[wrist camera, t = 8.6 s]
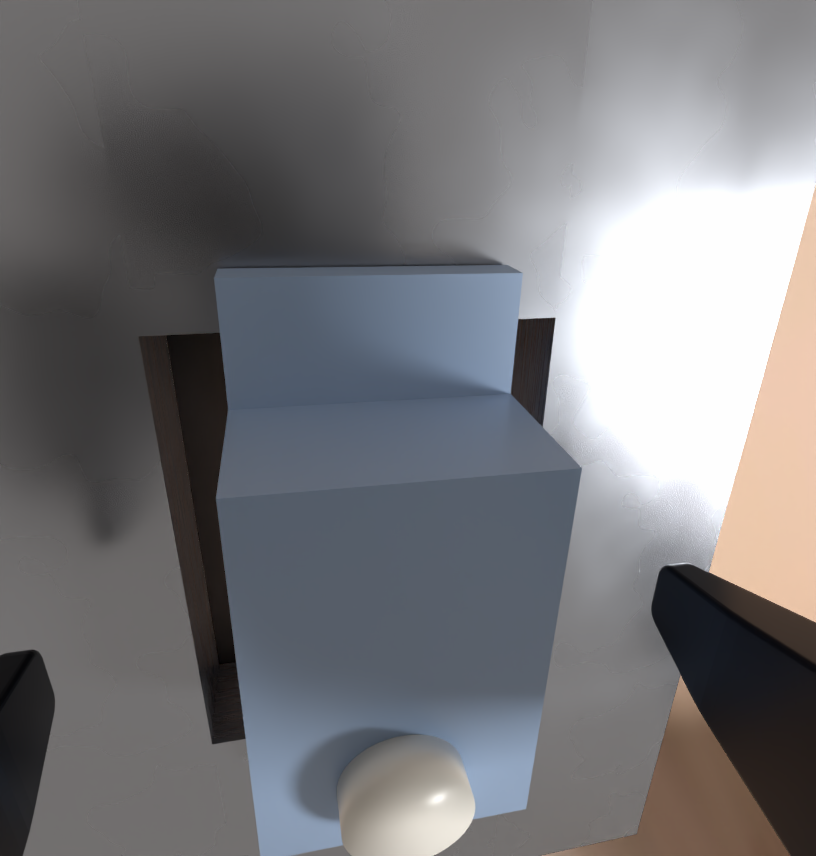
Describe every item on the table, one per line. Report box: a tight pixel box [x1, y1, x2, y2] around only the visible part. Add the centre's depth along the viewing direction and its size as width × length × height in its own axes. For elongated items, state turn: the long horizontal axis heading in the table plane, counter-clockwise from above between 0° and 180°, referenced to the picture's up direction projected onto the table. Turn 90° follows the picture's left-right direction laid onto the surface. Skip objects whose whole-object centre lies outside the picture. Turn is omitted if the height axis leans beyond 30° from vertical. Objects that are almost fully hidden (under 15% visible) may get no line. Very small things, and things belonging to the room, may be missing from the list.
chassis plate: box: [0, 0, 816, 856], centre depth 11 cm, size 20×14×2 cm
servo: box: [214, 265, 582, 856], centre depth 10 cm, size 4×10×6 cm, turn 178°
